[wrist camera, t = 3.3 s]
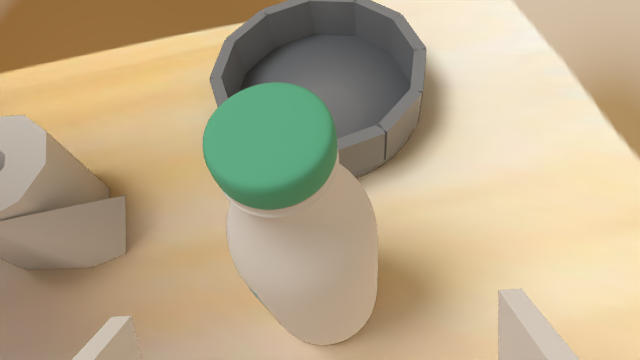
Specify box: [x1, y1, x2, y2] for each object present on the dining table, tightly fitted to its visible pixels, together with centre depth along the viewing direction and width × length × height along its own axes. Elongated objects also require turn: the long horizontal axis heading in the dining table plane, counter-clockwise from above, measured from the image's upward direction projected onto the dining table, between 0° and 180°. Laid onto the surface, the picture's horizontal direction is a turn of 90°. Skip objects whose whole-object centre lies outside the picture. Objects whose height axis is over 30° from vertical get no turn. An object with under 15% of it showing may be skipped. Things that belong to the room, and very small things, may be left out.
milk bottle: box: [203, 82, 378, 345], centre depth 23 cm, size 8×8×20 cm
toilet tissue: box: [0, 115, 126, 270], centre depth 33 cm, size 9×13×9 cm
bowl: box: [210, 0, 426, 178], centre depth 38 cm, size 18×18×5 cm
